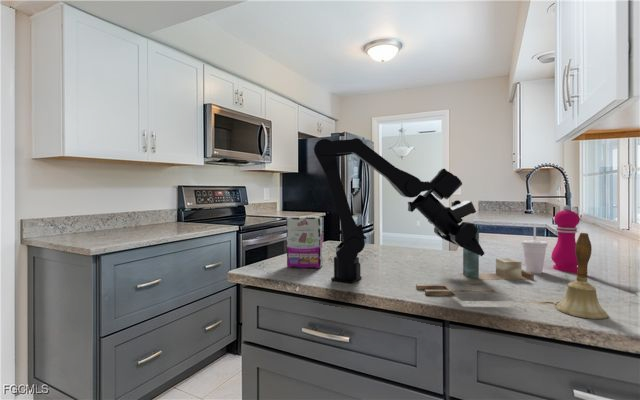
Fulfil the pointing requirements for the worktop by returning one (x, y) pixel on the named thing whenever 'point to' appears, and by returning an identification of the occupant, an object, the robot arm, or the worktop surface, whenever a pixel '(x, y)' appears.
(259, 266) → the worktop surface
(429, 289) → the broken lane
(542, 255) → the smoothie
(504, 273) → the maple block
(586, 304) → the hand bell
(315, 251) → the candy bar box
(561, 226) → the pepper mill
